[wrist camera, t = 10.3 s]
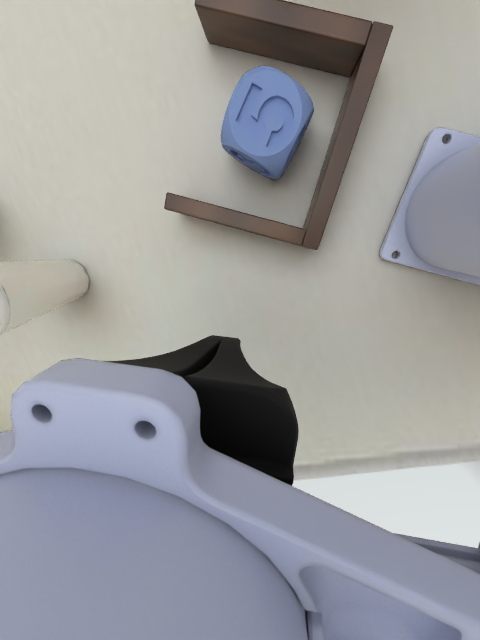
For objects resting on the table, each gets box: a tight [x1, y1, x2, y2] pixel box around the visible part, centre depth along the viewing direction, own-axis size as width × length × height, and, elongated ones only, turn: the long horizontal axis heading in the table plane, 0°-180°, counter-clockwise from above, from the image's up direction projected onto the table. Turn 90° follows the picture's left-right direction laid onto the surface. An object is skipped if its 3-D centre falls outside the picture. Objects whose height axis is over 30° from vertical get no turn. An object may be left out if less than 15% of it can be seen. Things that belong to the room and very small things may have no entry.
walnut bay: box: [164, 0, 393, 250], centre depth 17 cm, size 10×11×3 cm
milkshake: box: [0, 259, 89, 335], centre depth 18 cm, size 5×5×10 cm
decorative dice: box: [221, 66, 314, 179], centre depth 16 cm, size 4×4×4 cm
